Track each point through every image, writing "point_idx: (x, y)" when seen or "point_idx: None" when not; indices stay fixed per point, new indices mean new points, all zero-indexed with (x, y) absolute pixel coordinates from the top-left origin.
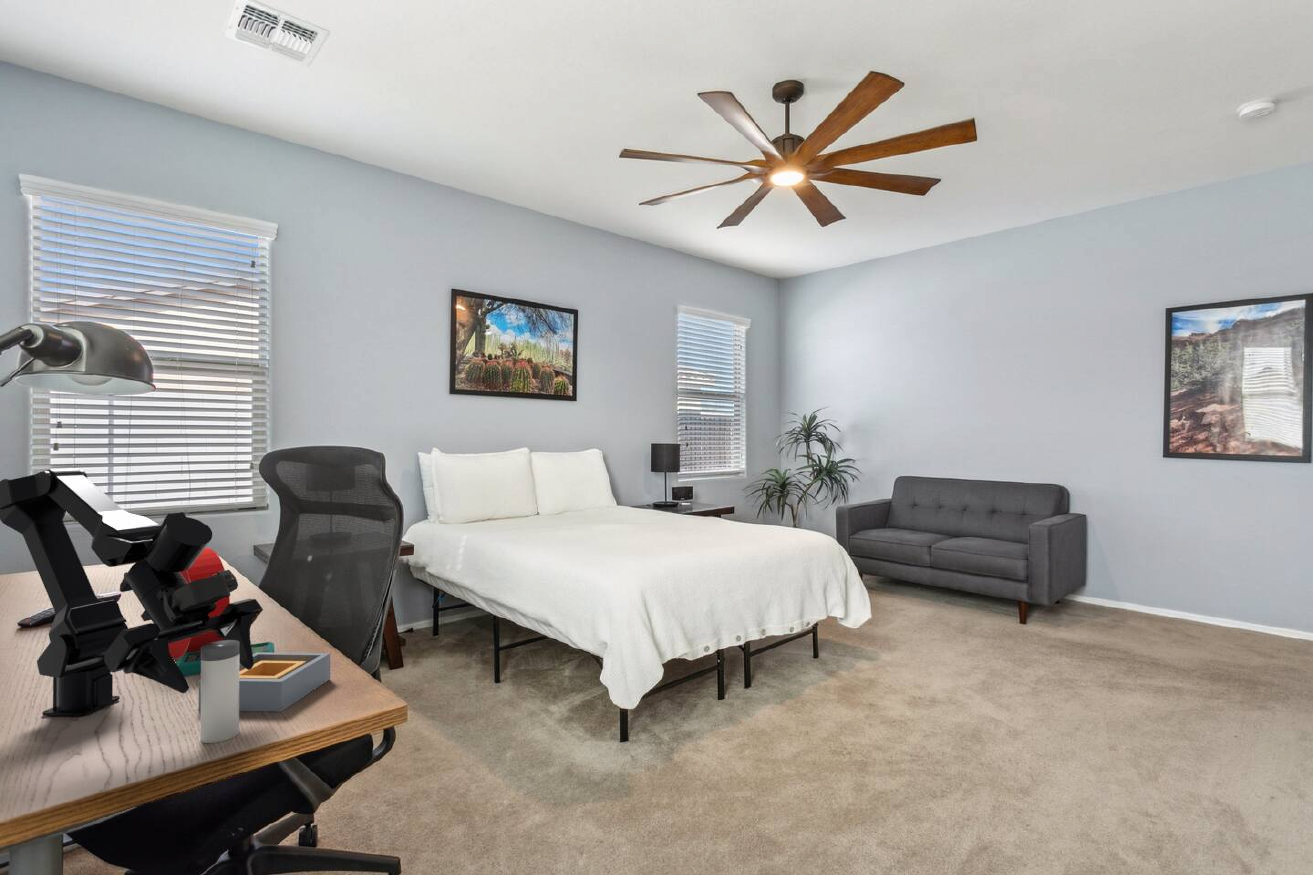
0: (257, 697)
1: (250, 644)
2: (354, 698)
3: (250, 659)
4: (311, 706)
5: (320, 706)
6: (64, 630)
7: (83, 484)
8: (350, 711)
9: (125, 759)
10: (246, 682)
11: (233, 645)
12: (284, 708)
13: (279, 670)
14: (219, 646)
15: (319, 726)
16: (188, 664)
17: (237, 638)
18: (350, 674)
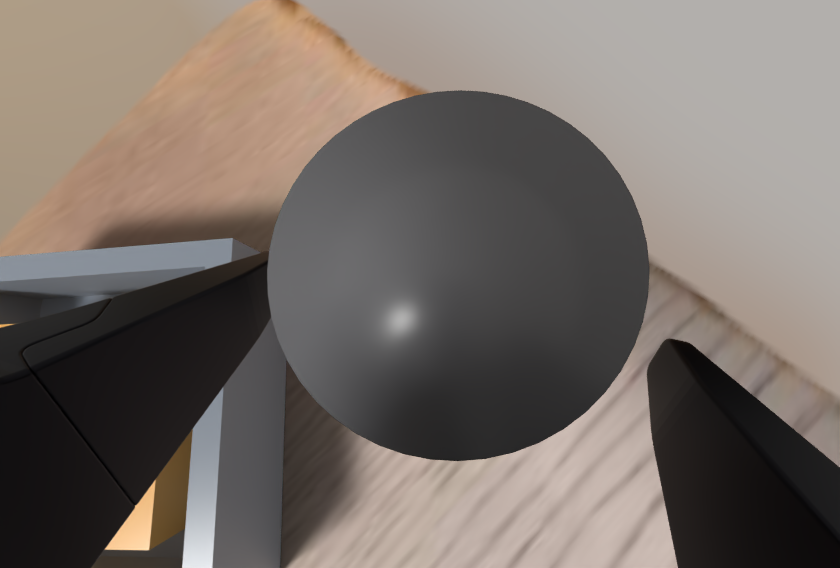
0: (263, 345)
1: (130, 294)
2: (198, 124)
3: (255, 261)
4: (251, 206)
5: (251, 180)
6: None
7: None
8: (284, 82)
9: (655, 514)
10: (227, 393)
11: (452, 103)
12: None
13: None
14: (502, 223)
15: (379, 99)
16: None
17: (73, 407)
18: (13, 249)
